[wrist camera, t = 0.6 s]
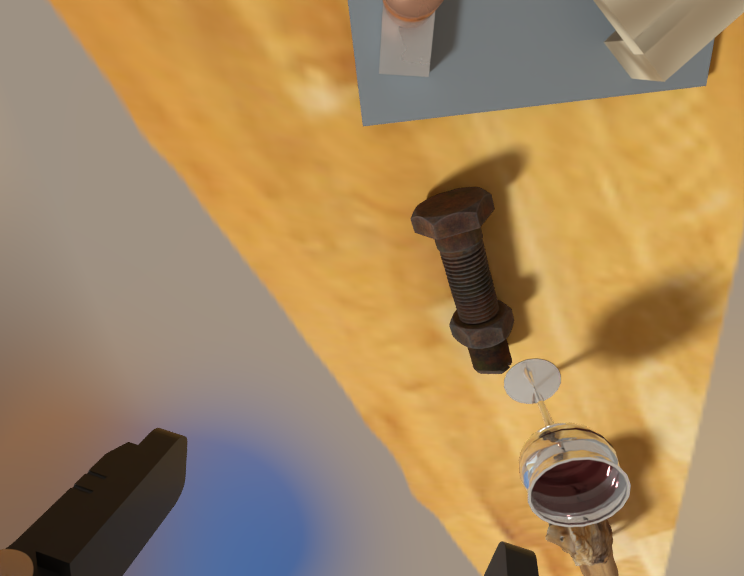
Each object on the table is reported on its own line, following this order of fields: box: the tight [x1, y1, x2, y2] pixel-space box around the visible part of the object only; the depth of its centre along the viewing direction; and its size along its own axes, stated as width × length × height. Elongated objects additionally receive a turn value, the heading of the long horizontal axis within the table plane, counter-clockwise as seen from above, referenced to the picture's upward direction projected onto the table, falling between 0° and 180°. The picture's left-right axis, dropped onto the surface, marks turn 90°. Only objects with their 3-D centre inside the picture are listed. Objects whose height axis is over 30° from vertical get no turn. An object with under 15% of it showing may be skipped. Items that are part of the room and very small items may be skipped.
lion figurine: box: [546, 519, 618, 576], centre depth 45 cm, size 15×5×9 cm, turn 32°
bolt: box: [411, 187, 514, 374], centre depth 36 cm, size 6×5×15 cm
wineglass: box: [504, 359, 631, 527], centre depth 37 cm, size 7×7×12 cm
